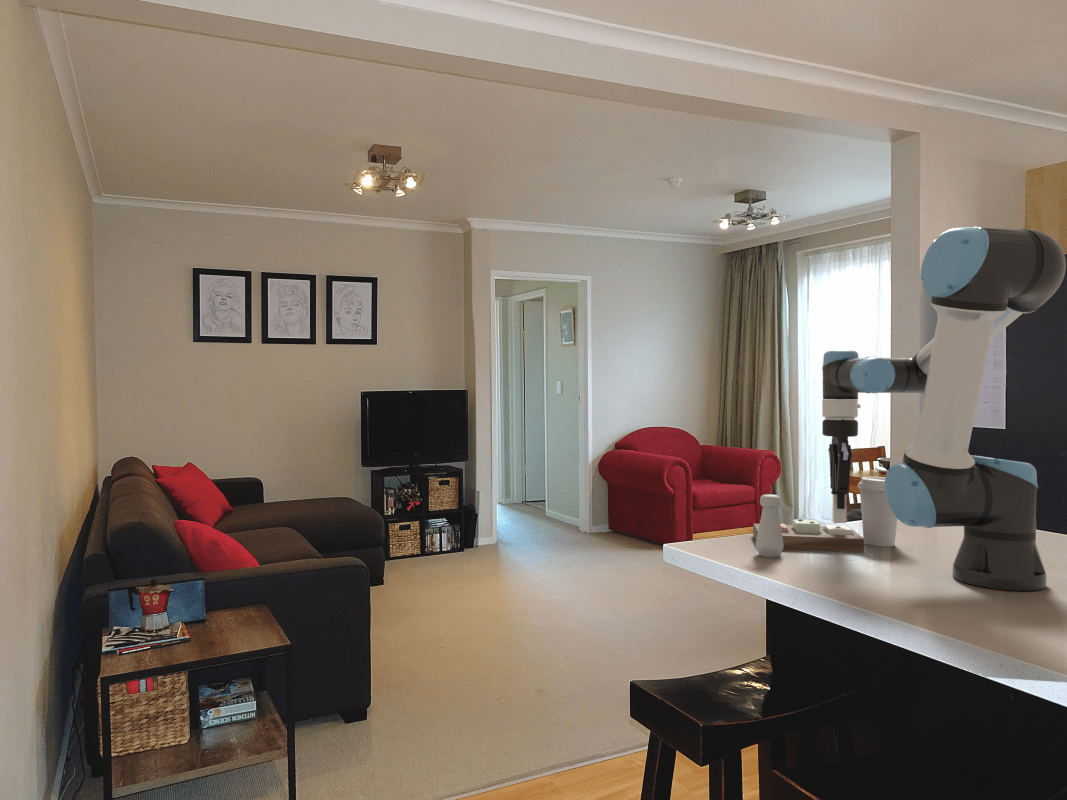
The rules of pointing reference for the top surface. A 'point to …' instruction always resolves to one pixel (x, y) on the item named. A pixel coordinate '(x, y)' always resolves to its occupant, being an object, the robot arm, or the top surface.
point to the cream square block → (838, 530)
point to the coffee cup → (876, 513)
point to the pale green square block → (806, 526)
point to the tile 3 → (783, 528)
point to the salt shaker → (769, 528)
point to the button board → (819, 540)
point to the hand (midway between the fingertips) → (839, 522)
